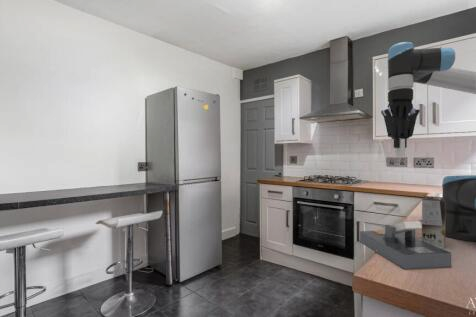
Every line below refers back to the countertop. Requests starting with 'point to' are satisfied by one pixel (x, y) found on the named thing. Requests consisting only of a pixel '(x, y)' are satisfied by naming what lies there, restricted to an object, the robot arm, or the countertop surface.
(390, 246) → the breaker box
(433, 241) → the coffee box
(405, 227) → the rocker
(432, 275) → the countertop surface
